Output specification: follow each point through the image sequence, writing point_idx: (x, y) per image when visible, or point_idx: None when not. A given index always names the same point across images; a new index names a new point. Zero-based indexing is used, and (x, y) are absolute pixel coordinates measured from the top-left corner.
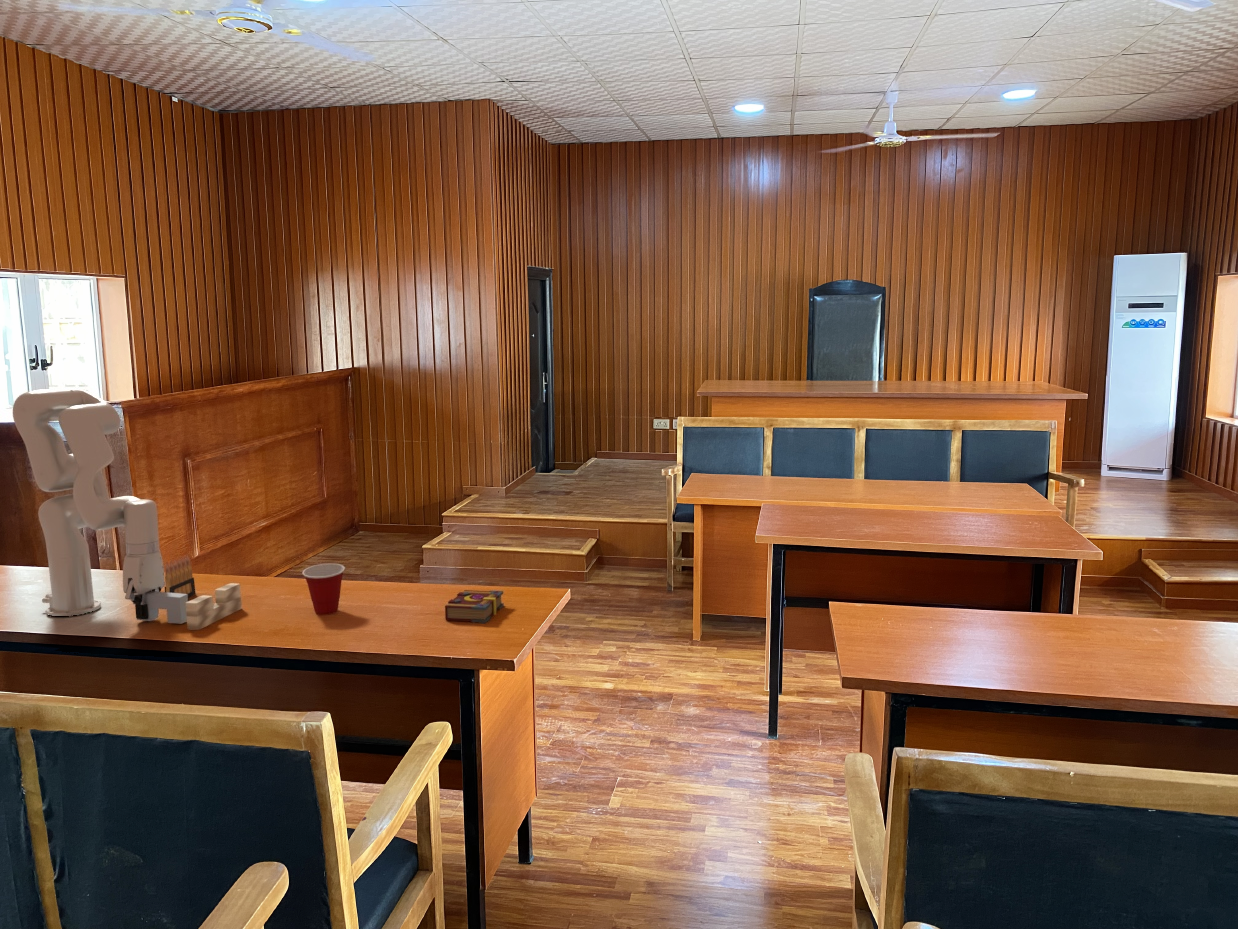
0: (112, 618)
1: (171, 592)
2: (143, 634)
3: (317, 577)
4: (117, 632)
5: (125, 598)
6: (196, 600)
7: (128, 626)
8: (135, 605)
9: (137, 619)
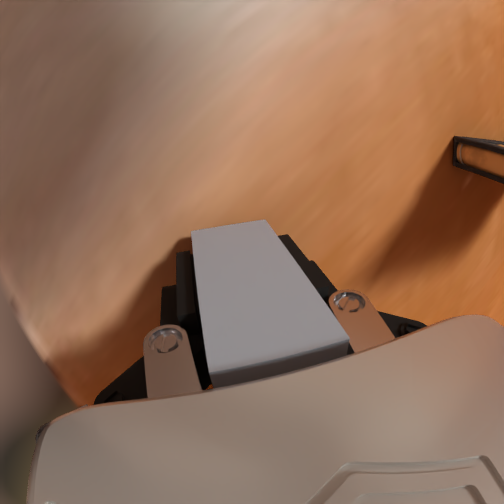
0: (223, 4)
1: (500, 181)
2: (94, 376)
3: None
4: (43, 263)
5: (39, 429)
6: None
7: (124, 232)
8: (178, 307)
9: (192, 236)
